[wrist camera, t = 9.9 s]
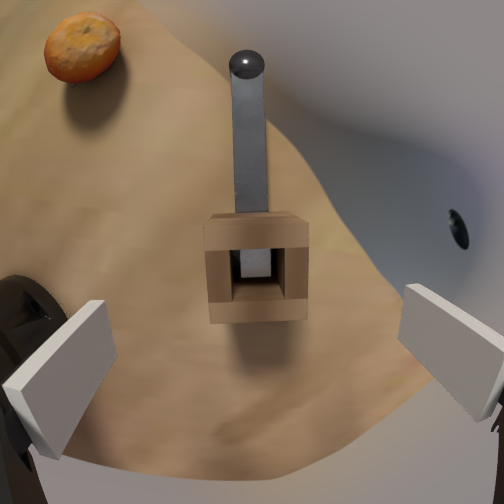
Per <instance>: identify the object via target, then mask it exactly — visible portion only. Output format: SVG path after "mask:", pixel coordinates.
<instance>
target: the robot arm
mask: <svg viewBox="0 0 504 504" xmlns="http://www.w3.org/2000/svg"><path fill="white" fill-rule="evenodd" d="M397 339H398V340H399V341H400V342H401V343H402V344H403V345H404V346H405V347H406V348H407V349H408V350H409V351H410V352H411V353H412V354H413V355H414V356H415V357H416V358H417V359H418V360H419V362H420V363H421V364H422V365H423V366H424V367H425V368H426V369H427V370H428V371H429V372H430V373H431V374H432V375H433V376H434V377H435V378H436V379H437V380H438V381H439V382H440V384H442V386H443V387H444V388H445V389H446V390H447V391H448V392H449V393H450V394H451V395H452V396H453V397H454V399H455V400H456V401H457V402H458V403H459V404H460V405H461V406H462V407H463V408H464V409H465V411H466V412H468V414H469V415H470V416H471V417H472V418H473V419H474V421H475V422H476V423H478V422H480V421H482V420H484V419H486V418H488V417H490V416H491V415H492V413H493V411H494V409H495V407H496V405H497V403H498V402H499V403H500V404H501V405H502V406H503V407H502V409H501V411H500V413H499V415H498V417H497V419H496V421H495V423H494V424H493V426H492V428H491V432H493V431H494V429H495V428H496V426H497V425H499V429H498V430H497V432H499V448H498V464H497V465H498V466H497V476H496V485H495V492H494V500H493V504H504V337H503V336H501V335H499V334H498V333H497V332H495V331H494V330H492V329H491V328H489V327H488V326H486V325H484V324H483V323H481V322H480V321H478V320H476V319H475V318H474V317H472V316H470V315H469V314H467V313H466V312H464V311H463V310H461V309H460V308H458V307H456V306H455V305H453V304H452V303H450V302H448V301H447V300H445V299H443V298H442V297H440V296H439V295H437V294H435V293H434V292H432V291H430V290H429V289H427V288H425V287H424V286H422V285H420V284H410V285H406V286H405V293H404V301H403V308H402V315H401V321H400V327H399V333H398V338H397ZM116 358H117V352H116V348H115V343H114V339H113V335H112V331H111V326H110V321H109V317H108V312H107V307H106V301H105V300H90V301H89V302H88V303H86V304H85V305H84V306H83V307H82V308H81V309H80V310H79V311H78V312H77V313H75V314H74V315H73V316H72V317H71V318H70V319H69V320H67V318H66V316H65V314H64V313H63V311H62V309H61V308H60V306H59V305H58V303H57V302H56V301H55V300H54V298H53V297H52V296H51V295H50V294H49V293H48V292H47V291H46V290H45V289H44V288H43V287H42V286H41V285H39V284H38V283H36V282H35V281H33V280H31V279H29V278H27V277H24V276H19V275H12V276H8V277H6V278H4V279H2V280H0V504H48V503H47V500H46V497H45V495H44V492H43V489H42V486H41V483H40V481H39V477H38V474H37V471H36V468H35V464H34V462H33V458H32V455H31V454H30V452H29V450H28V447H29V446H30V444H31V443H33V444H34V446H35V448H36V449H37V450H38V452H39V454H40V455H43V456H46V457H50V458H52V459H56V460H59V458H60V457H61V455H62V453H63V451H64V449H65V447H66V445H67V443H68V442H69V440H70V438H71V436H72V434H73V432H74V430H75V429H76V427H77V425H78V423H79V421H80V419H81V418H82V416H83V414H84V412H85V411H86V409H87V407H88V405H89V403H90V402H91V400H92V398H93V396H94V395H95V393H96V391H97V390H98V388H99V386H100V384H101V383H102V381H103V379H104V378H105V376H106V374H107V373H108V371H109V369H110V368H111V366H112V364H113V363H114V361H115V359H116Z"/></svg>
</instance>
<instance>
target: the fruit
mask: <svg viewBox="0 0 504 504" xmlns="http://www.w3.org/2000/svg"><path fill="white" fill-rule="evenodd" d="M120 38H121V37H120V31H119V29H118V28H117V27H116V26H115V24H114V23H113V22H112V21H111V20H109V19H108V18H106V17H105V16H103V15H100V14H98V13H94V12H82V13H79V14H77V15H75V16H72V17H68V18H66V19H65V20H63V21H62V22H61V23H60V24H59V26H58V27H57V28H56V29H55V30H54V31H53V33H52V34H51V35H50V36H49V37H48V39H47V41H46V45H45V49H44V57H45V62H46V65H47V68H48V71H49V72H50V73H51V74H52V75H53V76H54V77H56V78H57V79H58V80H60V81H63V82H67V83H72V87H74V85H75V83H83V82H87V81H90V80H92V79H94V78H95V77H97V76H98V75H100V74H101V73H102V72H104V71H105V70H106V69H108V68H109V67H110V66H111V65H112V63H113V62H114V60H115V59H116V57H117V55H118V52H119V49H120Z"/></svg>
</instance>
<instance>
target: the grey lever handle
mask: <svg viewBox="0 0 504 504" xmlns="http://www.w3.org/2000/svg"><path fill="white" fill-rule="evenodd" d="M229 69H230V76H231V79H232V120H233V155H234V186H235V213H253V212H267V175H266V143H265V116H264V91H263V71H264V60H263V58H262V57H261V55H260V54H258V53H257V52H255V51H252V50H242V51H239V52H237V53H235V54H234V55H233V56H232V57H231V59H230V62H229ZM233 265H234V269H237V268H241V278H244V277H267V276H271V267H272V248H270V249H244V250H233Z"/></svg>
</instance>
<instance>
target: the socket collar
mask: <svg viewBox="0 0 504 504" xmlns="http://www.w3.org/2000/svg"><path fill="white" fill-rule="evenodd" d="M203 230H204V247H205V262H206V277H207V290H208V302H209V314H210V324H225V323H252V322H272V321H288V320H303V319H307V304H308V263H309V223H308V222H306V221H304V220H302V219H301V218H299V217H297V216H295V215H293V214H292V213H290V212H253V213H227V214H213V216H212V217H211V218H210V219H209V220H208V222H207V223H206V224H205V225H204V226H203ZM270 248H272V267H271V276H267V277H244V278H241V268H237V269H234V265H233V250H244V249H270Z"/></svg>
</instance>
